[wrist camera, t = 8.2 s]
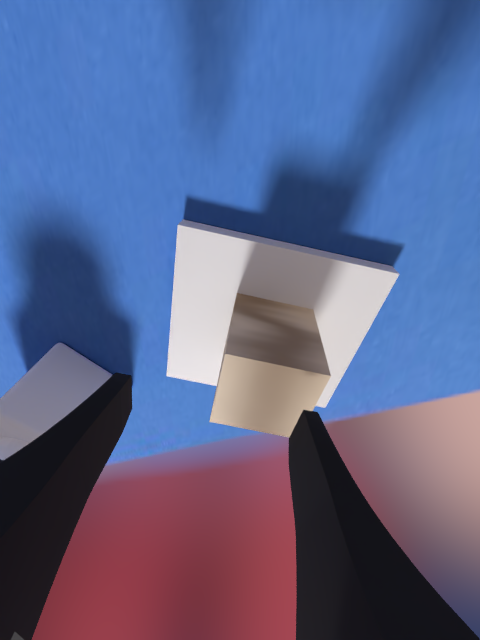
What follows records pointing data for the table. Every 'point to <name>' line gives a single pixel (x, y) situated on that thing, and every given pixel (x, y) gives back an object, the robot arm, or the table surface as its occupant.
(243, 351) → the maple block
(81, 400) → the medicine bottle
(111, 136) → the table surface
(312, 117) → the table surface
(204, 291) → the white board
